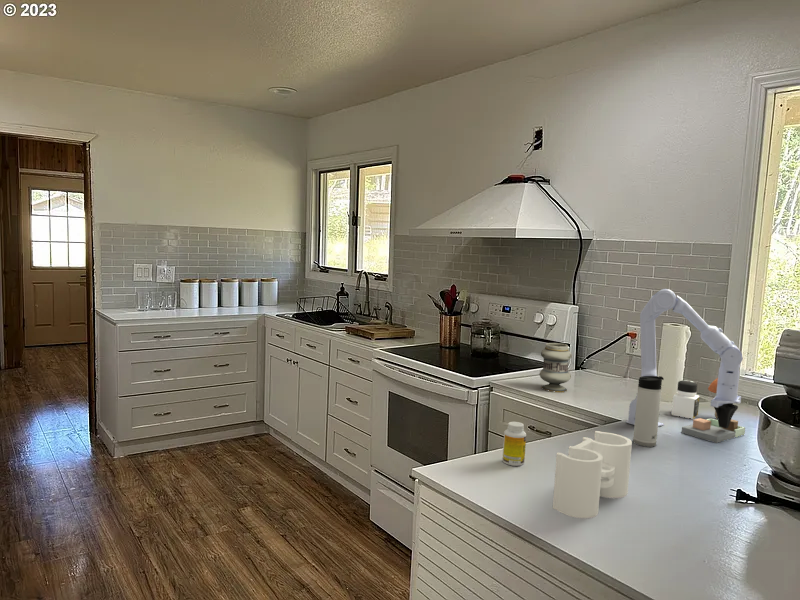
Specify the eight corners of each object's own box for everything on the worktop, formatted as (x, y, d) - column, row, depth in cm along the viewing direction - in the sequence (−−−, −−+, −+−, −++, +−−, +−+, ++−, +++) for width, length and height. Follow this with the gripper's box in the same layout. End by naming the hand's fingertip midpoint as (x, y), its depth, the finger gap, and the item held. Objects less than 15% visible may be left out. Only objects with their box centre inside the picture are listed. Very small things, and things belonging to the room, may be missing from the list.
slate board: (716, 443, 181) (717, 437, 180) (681, 432, 190) (682, 426, 189) (735, 437, 187) (735, 432, 187) (700, 427, 196) (700, 422, 196)
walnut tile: (734, 422, 188) (738, 421, 189) (722, 419, 191) (726, 418, 192) (733, 434, 189) (737, 433, 190) (722, 431, 191) (725, 430, 193)
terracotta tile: (703, 430, 187) (704, 422, 187) (692, 427, 190) (693, 419, 189) (710, 428, 189) (711, 421, 189) (699, 425, 192) (700, 418, 192)
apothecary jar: (532, 386, 243) (535, 342, 241) (556, 385, 248) (559, 341, 246) (551, 394, 232) (555, 347, 230) (576, 392, 237) (579, 346, 235)
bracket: (590, 524, 123) (595, 466, 122) (546, 508, 129) (551, 453, 128) (634, 489, 142) (638, 439, 141) (593, 477, 148) (597, 429, 147)
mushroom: (704, 419, 206) (709, 376, 205) (705, 414, 213) (709, 372, 212) (731, 423, 203) (735, 379, 201) (730, 418, 210) (735, 375, 208)
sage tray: (735, 437, 187) (735, 430, 187) (700, 427, 196) (700, 420, 196) (744, 435, 190) (745, 427, 190) (709, 425, 199) (710, 418, 199)
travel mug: (659, 448, 173) (665, 379, 171) (635, 445, 174) (641, 377, 172) (654, 441, 179) (661, 374, 177) (631, 439, 180) (637, 372, 178)
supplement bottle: (525, 467, 152) (528, 427, 151) (503, 465, 153) (506, 426, 152) (522, 459, 158) (525, 421, 157) (501, 458, 158) (503, 419, 157)
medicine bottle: (693, 419, 206) (696, 384, 204) (671, 415, 210) (674, 381, 209) (697, 415, 211) (701, 381, 210) (676, 411, 216) (679, 378, 214)
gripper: (729, 389, 179) (724, 434, 181) (752, 384, 188) (748, 427, 189) (705, 384, 185) (701, 427, 186) (729, 380, 194) (725, 421, 195)
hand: (723, 427), depth 188 cm, fingers closed
